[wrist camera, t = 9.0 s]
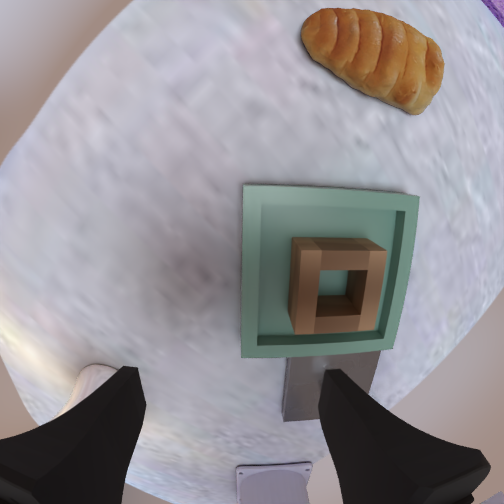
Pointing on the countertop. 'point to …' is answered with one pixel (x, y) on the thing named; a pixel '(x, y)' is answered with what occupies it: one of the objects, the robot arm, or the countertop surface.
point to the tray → (331, 281)
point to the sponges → (496, 9)
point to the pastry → (376, 55)
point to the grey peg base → (321, 380)
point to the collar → (335, 306)
